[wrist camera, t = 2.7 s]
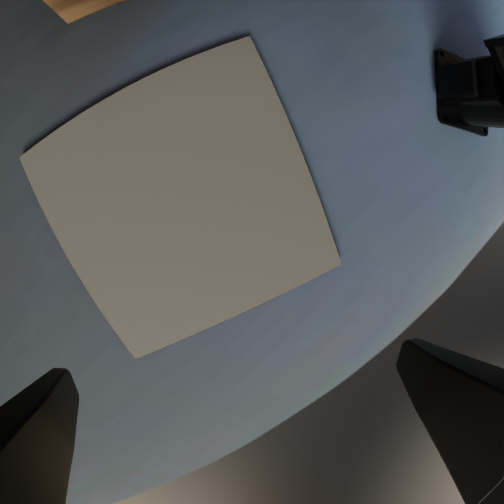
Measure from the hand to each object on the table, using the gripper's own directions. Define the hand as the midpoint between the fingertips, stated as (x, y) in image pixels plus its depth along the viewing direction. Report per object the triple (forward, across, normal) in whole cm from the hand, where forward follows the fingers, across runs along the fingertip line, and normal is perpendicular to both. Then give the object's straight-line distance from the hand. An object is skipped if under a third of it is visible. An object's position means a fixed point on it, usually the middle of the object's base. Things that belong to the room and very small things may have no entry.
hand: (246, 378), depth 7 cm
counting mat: (+13, +2, -2) cm, 13 cm away
